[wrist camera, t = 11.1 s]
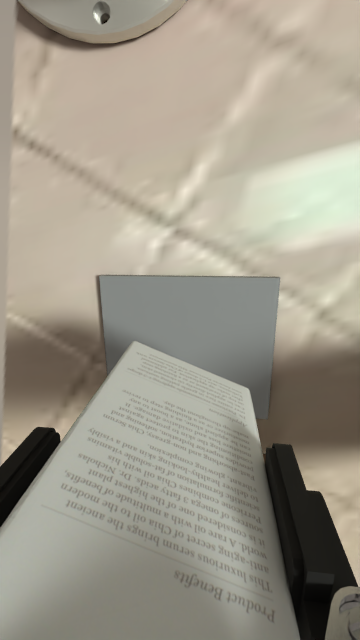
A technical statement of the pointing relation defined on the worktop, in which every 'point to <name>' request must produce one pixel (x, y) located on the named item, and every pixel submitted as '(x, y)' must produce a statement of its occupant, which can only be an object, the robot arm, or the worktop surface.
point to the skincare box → (149, 518)
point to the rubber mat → (197, 324)
